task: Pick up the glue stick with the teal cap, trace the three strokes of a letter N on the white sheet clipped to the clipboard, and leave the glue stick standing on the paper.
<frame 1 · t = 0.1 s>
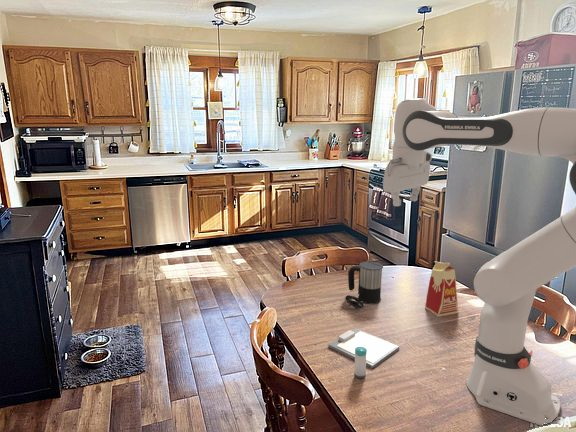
hand: (405, 203, 128), 48 cm above the table, tool pointing down, fingers open, 8 cm apart
glue stick: (359, 375, 125), on the table
clipboard: (363, 348, 140), on the table
milk carton: (440, 310, 166), on the table
milk frother: (363, 302, 173), on the table
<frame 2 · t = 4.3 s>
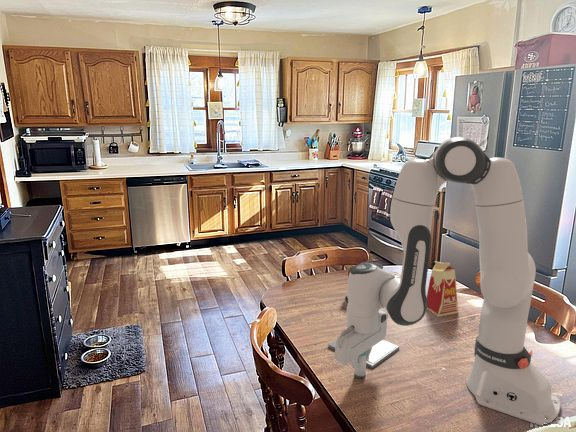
hand: (360, 363, 124), 4 cm above the table, tool pointing down, fingers closed on glue stick, 3 cm apart
glue stick: (359, 375, 125), on the table, touching gripper
everything else where it was.
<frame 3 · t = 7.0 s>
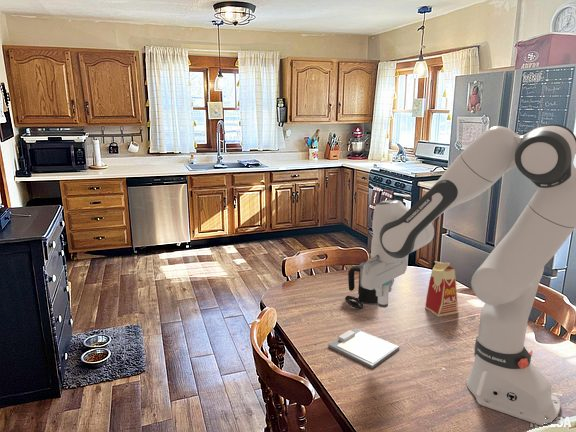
hand: (383, 293, 135), 19 cm above the table, tool pointing down, fingers closed on glue stick, 3 cm apart
glue stick: (382, 305, 136), point 15 cm above the table, touching gripper
everything else where it was.
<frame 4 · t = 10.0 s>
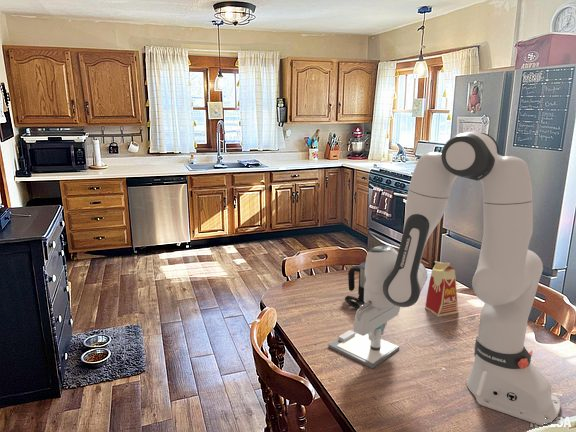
hand: (376, 337, 136), 5 cm above the table, tool pointing down, fingers closed on glue stick, 3 cm apart
glue stick: (375, 347, 138), point 1 cm above the table, touching gripper
everything else where it was.
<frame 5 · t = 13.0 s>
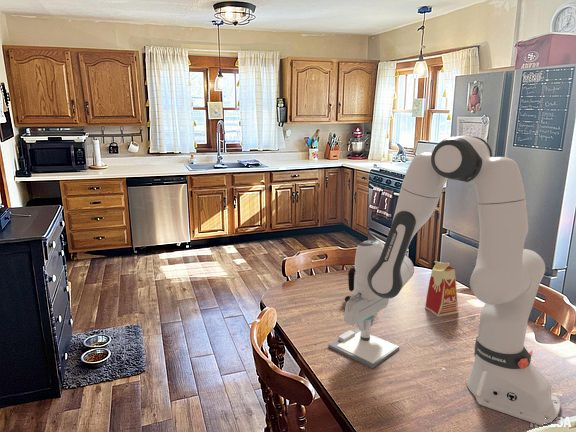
hand: (366, 327, 142), 5 cm above the table, tool pointing down, fingers closed on glue stick, 3 cm apart
glue stick: (365, 338, 143), point 1 cm above the table, touching gripper
everything else where it was.
when the fingers open (6 cm above the table, at t = 15.6 s): glue stick stays where it is, resting on clipboard.
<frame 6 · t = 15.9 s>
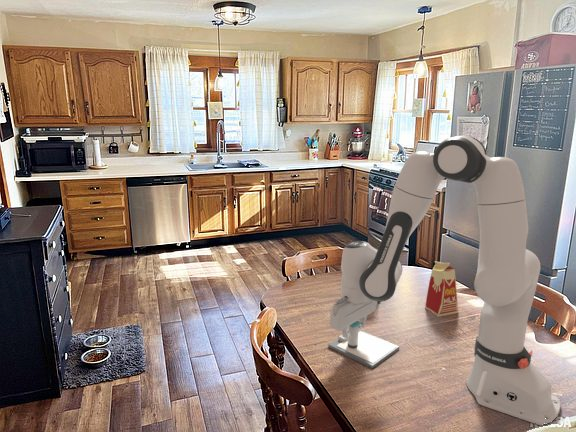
hand: (353, 332, 138), 6 cm above the table, tool pointing down, fingers open, 6 cm apart
glue stick: (352, 345, 139), point 1 cm above the table, touching clipboard
everything else where it was.
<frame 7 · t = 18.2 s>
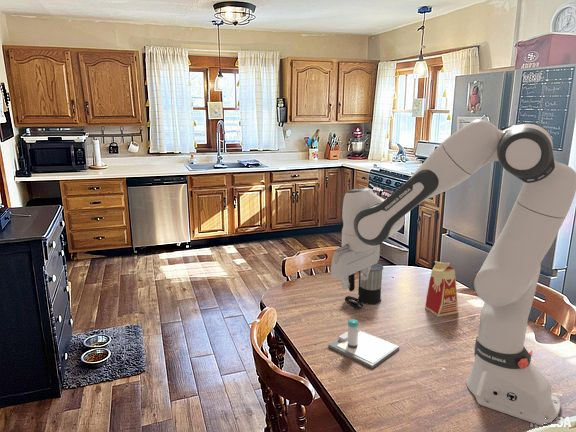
hand: (355, 283, 133), 23 cm above the table, tool pointing down, fingers open, 8 cm apart
nothing on the table moved.
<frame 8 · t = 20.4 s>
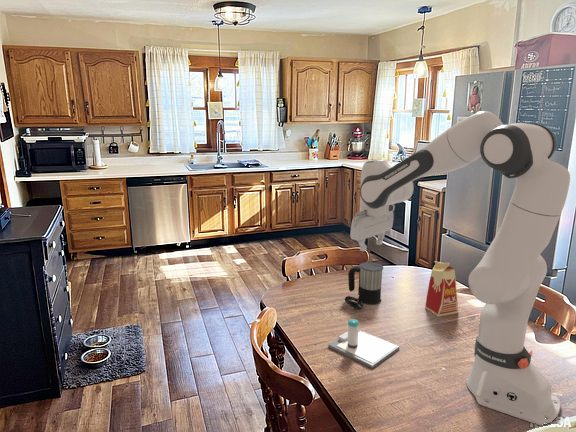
hand: (371, 247, 148), 29 cm above the table, tool pointing down, fingers open, 8 cm apart
nothing on the table moved.
at the end: glue stick inside the target area on the clipboard (4.4 cm from its centre), point 1.2 cm above the clipboard's base; glue stick tilted 1°; the gripper is holding nothing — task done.
